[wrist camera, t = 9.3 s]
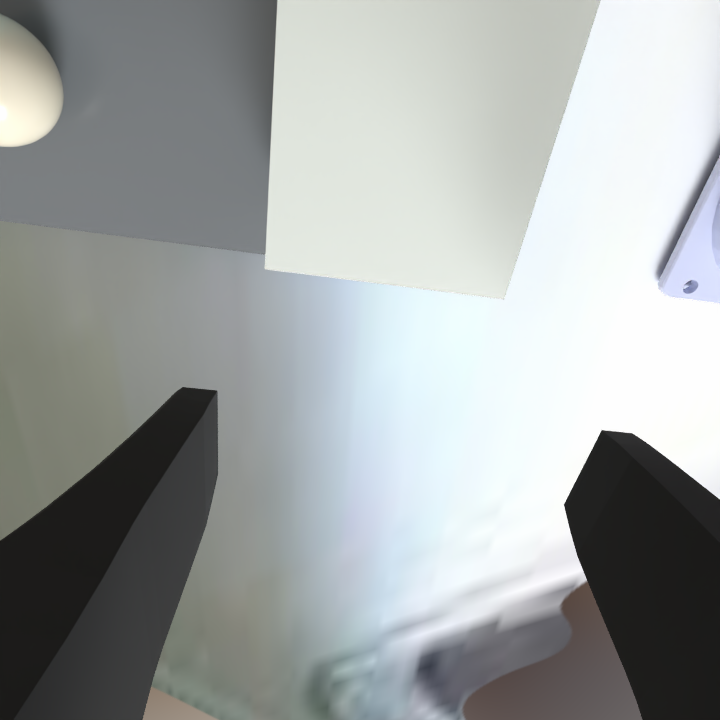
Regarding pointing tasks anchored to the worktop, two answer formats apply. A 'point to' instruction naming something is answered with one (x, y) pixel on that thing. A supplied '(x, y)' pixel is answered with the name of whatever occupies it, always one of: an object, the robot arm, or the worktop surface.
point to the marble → (26, 86)
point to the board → (151, 121)
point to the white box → (415, 135)
